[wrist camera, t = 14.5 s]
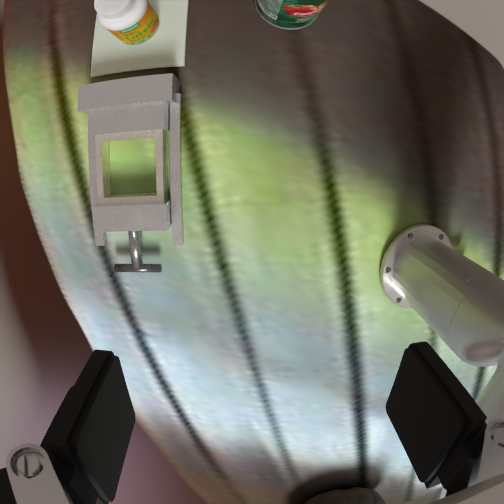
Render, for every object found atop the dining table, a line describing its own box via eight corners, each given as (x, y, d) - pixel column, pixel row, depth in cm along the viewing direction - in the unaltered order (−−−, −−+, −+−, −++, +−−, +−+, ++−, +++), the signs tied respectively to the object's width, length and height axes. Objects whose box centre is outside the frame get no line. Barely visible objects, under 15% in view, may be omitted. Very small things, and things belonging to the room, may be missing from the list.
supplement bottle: (134, 54, 31) (105, 30, 22) (110, 31, 29) (78, 4, 20) (169, 25, 30) (150, -8, 21) (143, 2, 28) (119, -32, 19)
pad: (189, -16, 28) (189, -17, 28) (184, 66, 32) (184, 65, 32) (100, -2, 28) (99, -3, 27) (91, 77, 32) (90, 76, 31)
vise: (182, 80, 33) (175, 73, 28) (185, 266, 40) (179, 281, 36) (92, 91, 32) (76, 86, 28) (101, 266, 40) (88, 279, 35)
